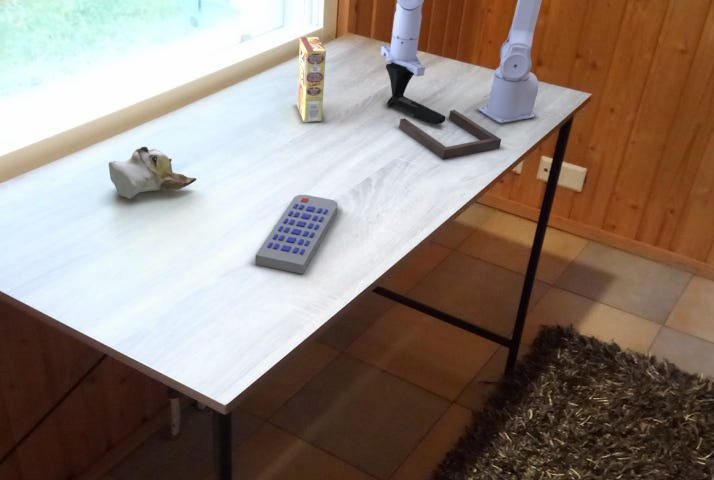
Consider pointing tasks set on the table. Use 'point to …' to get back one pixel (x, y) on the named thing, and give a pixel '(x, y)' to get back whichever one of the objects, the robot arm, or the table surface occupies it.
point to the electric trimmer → (416, 109)
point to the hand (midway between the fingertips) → (397, 96)
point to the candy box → (311, 78)
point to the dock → (485, 144)
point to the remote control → (297, 234)
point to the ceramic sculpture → (145, 173)
